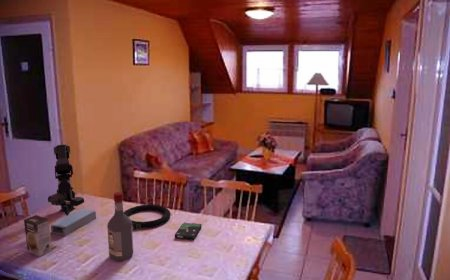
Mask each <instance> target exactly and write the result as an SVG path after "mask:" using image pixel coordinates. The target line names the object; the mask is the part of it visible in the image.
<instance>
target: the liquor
mask: <svg viewBox="0 0 450 280" xmlns="http://www.w3.org/2000/svg"><path fill="white" fill-rule="evenodd" d="M123 195H124V194H123V192H121V191H120V192H119V191H117V192H114V193H113V201H114V215H113V216H112V217H111V218H110V219H109V220H108V222H107V227H106V228H107V242H108V254H109V255H108V256H109V258H110V259H112V260H113V261H115V262H116V263H120V262H121V263H122V262H125V261H126V260H129V259H131V258H133V256H134V239H133V237H134V236H133V231H132V221H133V220H132V219H131V218H130V217H129V216H128V217H127V216H126V215H125V214H124V212H125V211H124V201H123V200H124V198H123ZM131 220H132V221H131Z"/></svg>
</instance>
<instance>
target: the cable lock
mask: <svg viewBox="0 0 450 280" xmlns="http://www.w3.org/2000/svg"><path fill="white" fill-rule="evenodd" d="M144 211H145V212H146V211H148V212H149V211H154V212H159V213H162V214H163V216H161V217H160V218H157V219H154V220H148V221H138V220H137V221H135V220H132V219H131V221H132V232H133V231H135V230H142V229H151V228H155V227H159V226H161V225H163V224H165V223H166V222H168V221H169V220H170V219H171V211H170V210H169V209H168V208H167V207H165V206H164V205H163V206H162V205H159V204H142V205H141V204H140V205H135V206H134V207H133V206H132V207H131V208H128V209H125V211H124V214H125V215H126V216H127V217H128V218H129V216H131V215H132V214H135V213H140V212H144Z"/></svg>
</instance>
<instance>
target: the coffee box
mask: <svg viewBox="0 0 450 280" xmlns="http://www.w3.org/2000/svg"><path fill="white" fill-rule="evenodd" d="M23 222H24V234H25V240H26V248H27V249H26V251H27V253H30V254H33V255H35V256H37V257H43V256H44V255H45V254H48V253H50V252H52V244H51V241H52V240H51V227H50V220H49V218H47V217H44V216H40V215H37V214H35V215H33V216H30V217H27V218H25V219H23Z"/></svg>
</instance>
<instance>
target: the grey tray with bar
mask: <svg viewBox="0 0 450 280" xmlns="http://www.w3.org/2000/svg"><path fill="white" fill-rule="evenodd" d="M96 219H97V212H96V211H95V212H94V213H92V214H90V215H89V216H87V217H85V218H83V219H81V220H79V221H78V222H76V223H74V224H72V225H70V226H69V227H67V228H60V227H55V226H51V225H50V235H51V234H52V235H57V236H62V237H67V236H69V235H70V234H72V233H73V232H76V231H77V230H79V229H80V228H83V227H84V226H86V225H88V224H89V223H91V222H93V221H94V220H96Z"/></svg>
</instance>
